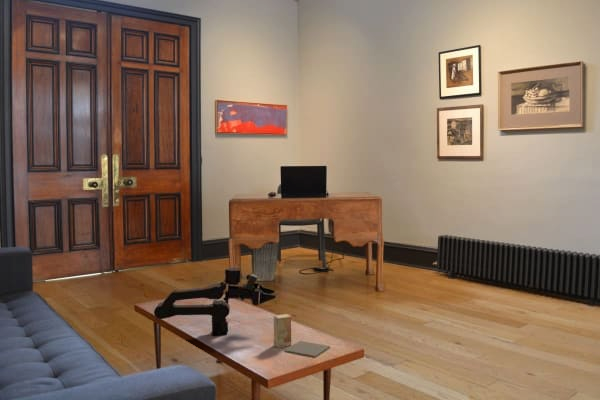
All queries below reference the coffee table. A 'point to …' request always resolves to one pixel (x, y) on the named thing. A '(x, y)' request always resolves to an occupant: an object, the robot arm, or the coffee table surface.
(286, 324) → the skincare box
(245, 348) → the coffee table surface
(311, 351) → the mat
